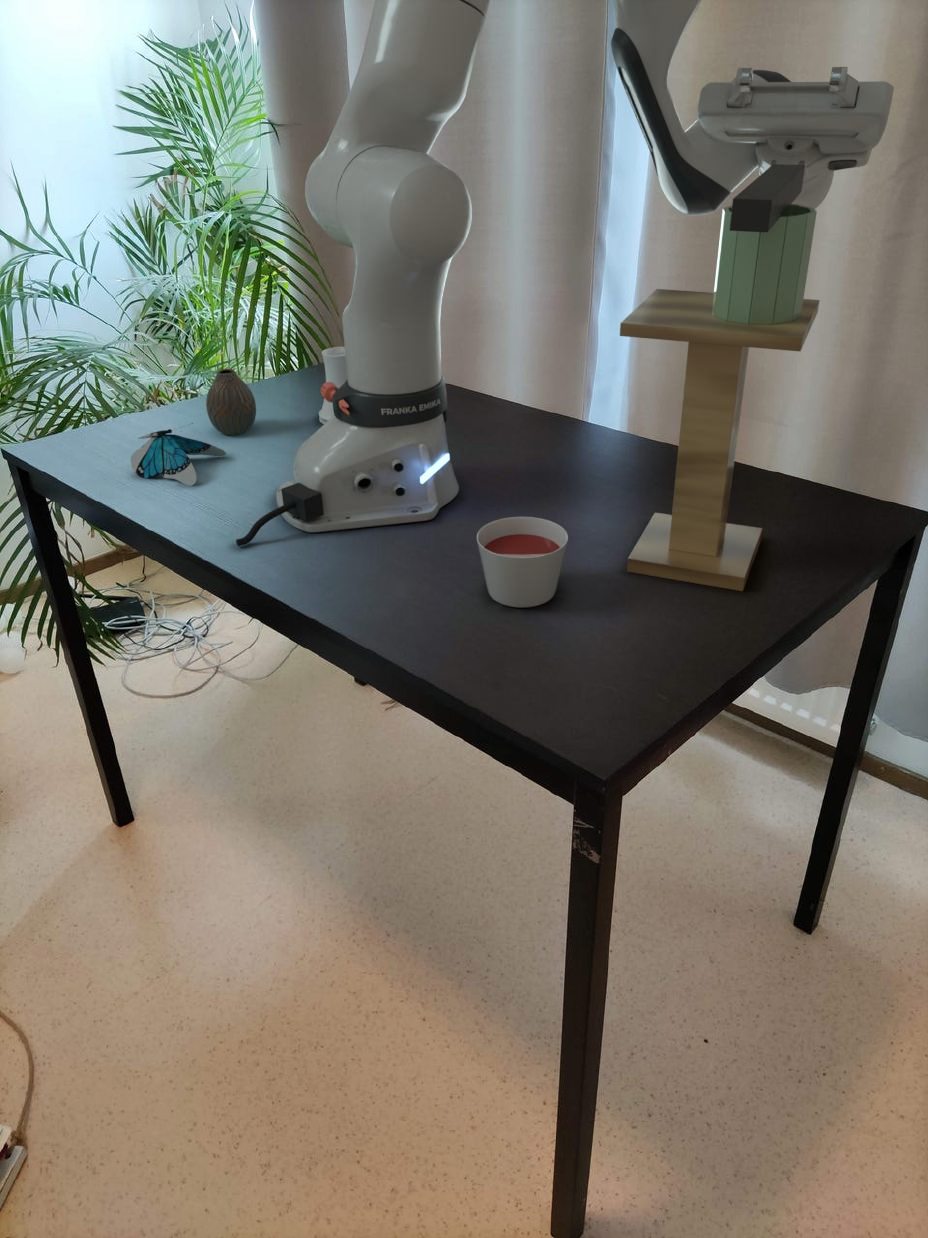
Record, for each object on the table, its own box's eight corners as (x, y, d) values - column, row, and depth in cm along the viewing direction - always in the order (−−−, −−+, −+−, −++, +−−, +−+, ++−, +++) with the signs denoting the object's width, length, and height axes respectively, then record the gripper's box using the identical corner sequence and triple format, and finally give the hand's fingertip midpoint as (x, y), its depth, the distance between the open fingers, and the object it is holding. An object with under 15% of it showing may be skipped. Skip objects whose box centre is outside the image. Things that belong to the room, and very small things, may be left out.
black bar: (767, 232, 77) (772, 199, 75) (729, 230, 78) (732, 198, 76) (801, 191, 94) (805, 164, 93) (769, 190, 95) (772, 163, 94)
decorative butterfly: (147, 424, 133) (210, 409, 130) (166, 467, 136) (228, 454, 133) (109, 452, 124) (176, 437, 121) (131, 497, 127) (196, 484, 124)
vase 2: (309, 418, 145) (301, 351, 140) (349, 406, 149) (344, 340, 144) (339, 430, 140) (332, 362, 135) (380, 417, 145) (375, 350, 139)
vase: (253, 438, 138) (245, 378, 134) (205, 439, 139) (195, 379, 134) (263, 421, 144) (255, 363, 140) (216, 422, 145) (207, 364, 140)
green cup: (746, 328, 86) (759, 219, 81) (696, 308, 92) (706, 207, 88) (817, 317, 89) (835, 211, 84) (764, 299, 95) (777, 199, 90)
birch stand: (761, 599, 97) (802, 337, 83) (605, 572, 102) (620, 322, 89) (780, 540, 108) (819, 299, 94) (638, 518, 113) (656, 288, 100)
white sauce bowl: (500, 622, 94) (500, 565, 91) (463, 582, 101) (462, 527, 98) (582, 602, 97) (584, 545, 94) (540, 564, 104) (541, 510, 101)
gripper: (709, 108, 117) (694, 44, 104) (892, 109, 110) (901, 40, 97) (699, 162, 117) (683, 104, 104) (881, 166, 110) (888, 105, 97)
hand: (790, 73), depth 100 cm, fingers open, 8 cm apart
